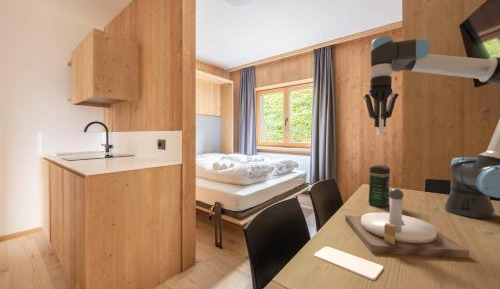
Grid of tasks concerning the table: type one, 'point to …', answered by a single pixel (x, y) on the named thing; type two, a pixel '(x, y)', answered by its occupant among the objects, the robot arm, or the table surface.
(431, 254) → the stand
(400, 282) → the table surface
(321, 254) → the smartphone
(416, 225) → the dial
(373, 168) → the coffee jar
